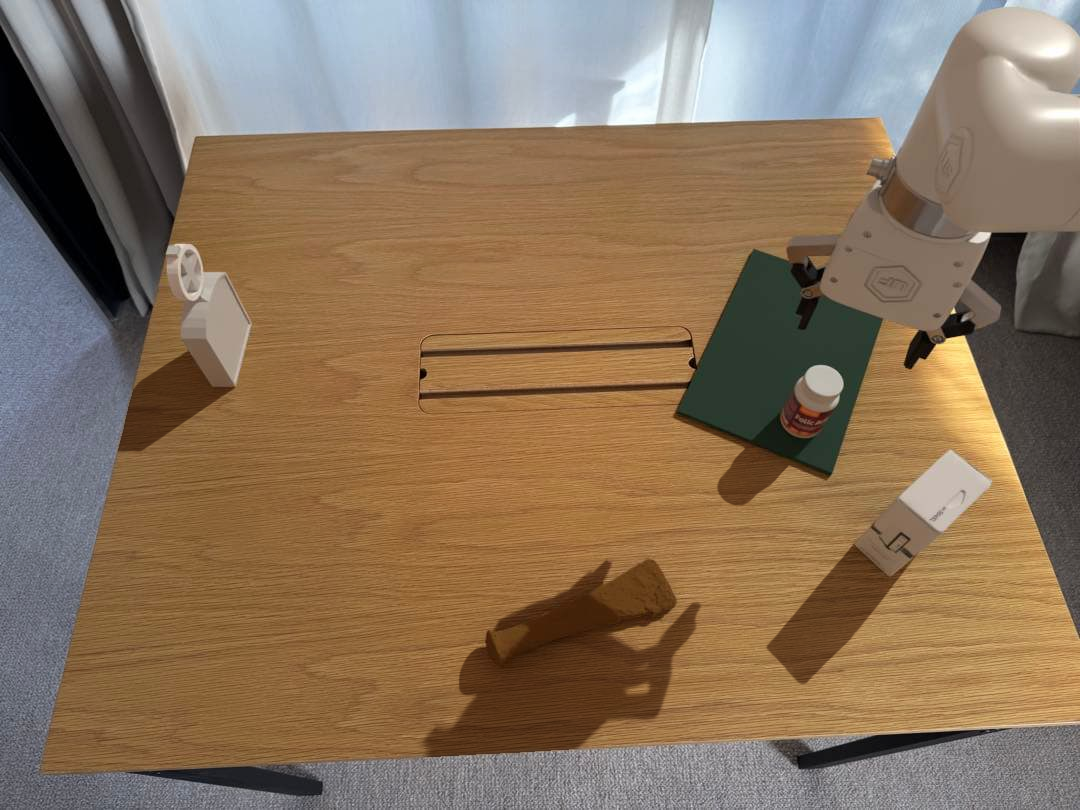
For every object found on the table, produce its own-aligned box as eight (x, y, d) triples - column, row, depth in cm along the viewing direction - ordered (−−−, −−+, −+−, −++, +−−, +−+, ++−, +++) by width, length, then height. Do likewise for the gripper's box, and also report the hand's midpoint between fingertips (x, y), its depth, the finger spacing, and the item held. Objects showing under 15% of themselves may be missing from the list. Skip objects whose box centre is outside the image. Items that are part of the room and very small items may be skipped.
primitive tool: (652, 558, 79) (657, 546, 76) (680, 606, 76) (685, 595, 73) (480, 638, 75) (478, 628, 72) (503, 692, 72) (501, 684, 69)
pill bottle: (784, 440, 86) (806, 400, 79) (775, 404, 88) (796, 362, 81) (826, 439, 86) (852, 399, 79) (816, 403, 88) (841, 360, 81)
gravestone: (252, 323, 95) (197, 216, 80) (235, 386, 90) (174, 285, 75) (229, 323, 95) (171, 216, 80) (212, 386, 90) (146, 285, 75)
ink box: (901, 496, 83) (951, 443, 73) (940, 529, 81) (997, 480, 71) (850, 544, 80) (895, 496, 70) (889, 580, 78) (941, 535, 68)
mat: (888, 298, 97) (890, 295, 97) (830, 475, 84) (832, 473, 84) (752, 251, 102) (753, 248, 101) (676, 413, 88) (677, 410, 88)
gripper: (807, 187, 56) (752, 333, 70) (1059, 266, 52) (945, 404, 66) (834, 128, 59) (776, 278, 74) (1071, 197, 55) (961, 342, 70)
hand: (856, 337), depth 70 cm, fingers open, 9 cm apart
